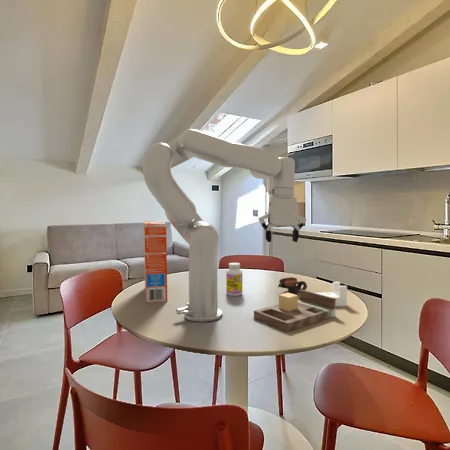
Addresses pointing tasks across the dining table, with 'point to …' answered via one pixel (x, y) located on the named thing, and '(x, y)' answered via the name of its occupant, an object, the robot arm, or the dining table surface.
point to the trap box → (299, 312)
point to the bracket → (337, 294)
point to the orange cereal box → (155, 261)
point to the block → (288, 301)
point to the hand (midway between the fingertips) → (281, 241)
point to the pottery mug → (292, 285)
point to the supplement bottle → (234, 280)
